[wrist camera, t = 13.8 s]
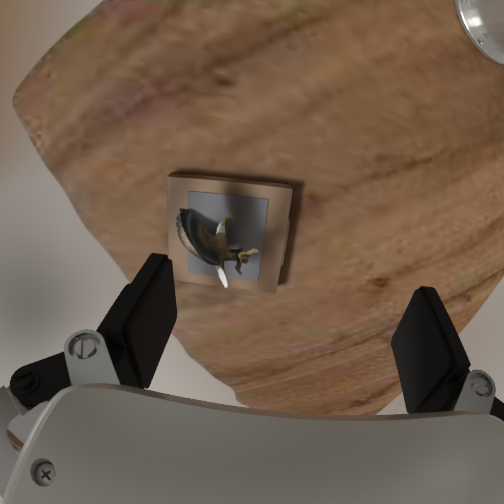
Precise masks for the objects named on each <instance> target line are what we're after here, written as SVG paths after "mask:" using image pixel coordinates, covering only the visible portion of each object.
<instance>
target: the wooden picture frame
mask: <svg viewBox="0 0 504 504" xmlns="http://www.w3.org/2000/svg"><path fill="white" fill-rule="evenodd" d="M292 191H293V187H292V185H289V184H281V183H273V182H264V181H256V180H247V179H237V178H227V177H216V176H204V175H192V174H178V173H171V174H169V175H168V176H167V216H168V243H169V259H171V260H172V263H173V274H174V280H179V281H186V282H193V283H201V284H208V285H216V286H223V287H224V285H223V283H222V281H221V279H220V277H219V273H218V271H217V269H216V268H215V266H211V265H209V264H207V263H206V262H204V261H202V260H200V259H199V258H197V257H196V256H194V255H193V254H192V253H191V252H189V251H188V250H187V248H185V247H184V245H183V244H182V243H181V240H180V239H179V237H178V232H177V229H178V228H177V227H176V224H175V223H176V222H177V221H176V216H178V213H180V211H179V208H181V209H182V208H185V209H189V210H190V211H191V212H192V213H193V214H194V216H195V217H196V219H197V221H198V222H200V223H201V224H202V225H203V226H204V228H205V229H206V231H207V232H208V233H209V234H210V235H212V236H215V235H216V232H217V227H218V225H219V224H220V222H221V221H222V220H223V219H226V222H225V232H226V237H227V245H226V247H227V248H228V249H238V248H242V249H243V251H244V250H250V249H253V248H258V249H259V252H258V253H254V254H252V255H251V256H249V257H248V263H247V264H243V263H242V265H241V268H240V271H241V273H242V276H240V275H239V274H238V272H237V270H236V269H235V265H236V263H237V262H236V261H224V271H225V273H226V277H227V280H228V287H231V288H239V289H247V290H256V291H264V292H273V293H276V290H277V285H278V279H279V273H280V267H281V266H283V262H284V256H285V251H286V245H287V238H288V232H289V226H290V219H288V218H289V211H290V205H291V198H292Z"/></svg>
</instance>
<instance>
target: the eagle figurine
mask: <svg viewBox="0 0 504 504" xmlns="http://www.w3.org/2000/svg"><path fill="white" fill-rule="evenodd" d="M179 211H180V213H178V216H176V221H177V222H176V223H175V224H176V227H177V228H178V229H177V232H178V237H179V239H180V240H181V243H182V244H183V245H184V247H185V248H187V250H188V251H189V252H191V253H192V254H193V255H194V256H196V257H197V258H199V259H200V260H202V261H204V262H206V263H207V264H209V265H211V266H215V268H216V269H217V271H218V273H219V277H220V279H221V281H222V283H223V285H224V287H225V288H226V287H228V280H227V277H226V273H225V271H224V261H236V262H237V263H236V265H235V269H236V270H237V272H238V274H239V275H240V276H242V273H241V271H240V268H241V265H242V263H243V264H247V263H248V257H249V256H251V255H252V254H254V253H258V252H259V249H258V248H253V249H250V250H244V251H243V249H242V248H238V249H228V248H227V247H226V245H227V237H226V232H225V222H226V219H223V220H222V221H221V222H220V224H219V225H218V227H217V232H216V235H215V236H212V235H210V234H209V233H208V232H207V231H206V229H205V228H204V226H203V225H202V224H201V223H200V222H198V221H197V219H196V217H195V216H194V214H193V213H192V212H191V211H190V210H189V209H185V208H182V209H181V208H179Z"/></svg>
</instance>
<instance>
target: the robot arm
mask: <svg viewBox="0 0 504 504" xmlns="http://www.w3.org/2000/svg"><path fill="white" fill-rule="evenodd" d="M455 3H456V10H457V13H458V17H459V19H460V22H461V24H462V26H463V28H464V30H465V32H466V34H467V35H468V37H469V38H470V40H471V41H472V43H473V44H474V45H475V46H476V47H477V49H478V50H479V51H480V52H481V53H482V54H484V55H485V56H486V57H487V58H489V59H490V60H492V61H493V62H496V63H498V64H502V65H504V0H455ZM176 319H177V306H176V296H175V286H174V274H173V263H172V260H171V259H168V256H167V255H165V254H158V253H152V254H151V255H150V256H149V258H148V259H147V260H146V262H145V263H144V265H143V266H142V268H141V269H140V271H139V272H138V274H137V275H136V277H135V278H134V280H133V281H132V283H131V284H127V285H126V286H125V287H124V288H123V290H122V291H121V293H120V295H119V296H118V298H117V299H116V301H115V302H114V304H113V305H112V307H111V308H110V310H109V311H108V313H107V314H106V316H105V318H104V319H103V321H102V322H101V324H100V326H99V327H98V329H97V330H96V331H94V330H88V329H85V330H80V331H78V332H75V333H74V334H72V335H71V336H70V337H69V338H68V339H67V340H66V342H65V345H64V352H61V353H59V354H56V355H53V356H50V357H48V358H45V359H42V360H39V361H37V362H34V363H31V364H28V365H25V366H23V367H21V368H19V369H18V370H17V371H15V372H14V374H13V375H12V377H11V380H10V386H8V387H7V388H6V387H5V386H2V387H1V388H0V495H1V496H2V498H3V501H2V504H504V403H503V402H501V401H500V400H499V399H497V398H496V397H495V392H496V388H495V383H494V381H493V379H492V378H491V377H490V376H489V375H488V374H487V373H486V372H483V371H482V370H472V371H471V372H470V370H469V367H470V365H471V364H470V361H469V359H468V357H467V354H466V352H465V350H464V347H463V345H462V343H461V340H460V338H459V336H458V334H457V332H456V329H455V327H454V325H453V323H452V321H451V319H450V317H449V315H448V313H447V311H446V309H445V307H444V305H443V303H442V301H441V299H440V297H439V295H438V293H437V291H436V289H435V288H433V287H425V286H421V287H420V288H419V289H417V290H415V292H414V294H413V296H412V298H411V300H410V302H409V305H408V307H407V309H406V311H405V313H404V315H403V317H402V319H401V321H400V323H399V325H398V327H397V329H396V331H395V333H394V335H393V337H392V340H391V346H392V350H393V354H394V357H395V361H396V365H397V369H398V374H399V378H400V382H401V387H402V391H403V395H404V400H405V405H406V409H407V412H408V413H409V414H396V415H326V414H306V413H292V412H281V411H271V410H261V409H253V408H245V407H238V406H231V405H224V404H218V403H212V402H206V401H201V400H195V399H190V398H184V397H179V396H174V395H169V394H165V393H160V392H155V391H151V390H146V389H144V388H149V386H150V384H151V381H152V379H153V376H154V374H155V371H156V369H157V366H158V364H159V361H160V358H161V356H162V354H163V351H164V348H165V346H166V344H167V341H168V339H169V337H170V334H171V332H172V329H173V327H174V324H175V322H176Z"/></svg>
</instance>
